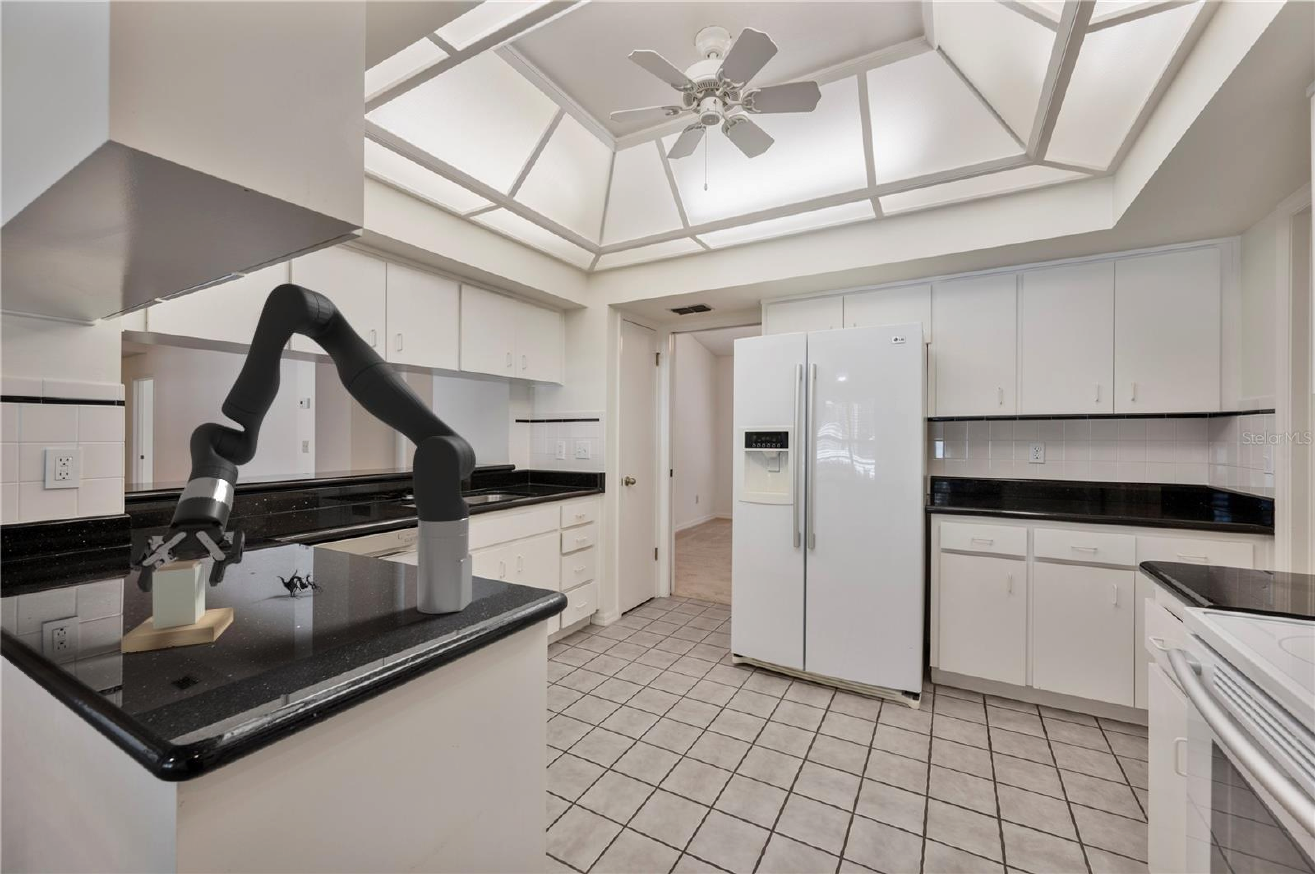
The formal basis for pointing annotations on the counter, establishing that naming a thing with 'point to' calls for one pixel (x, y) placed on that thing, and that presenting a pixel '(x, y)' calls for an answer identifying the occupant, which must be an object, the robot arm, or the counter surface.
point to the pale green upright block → (178, 593)
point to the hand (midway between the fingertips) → (179, 586)
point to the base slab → (177, 632)
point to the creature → (292, 585)
